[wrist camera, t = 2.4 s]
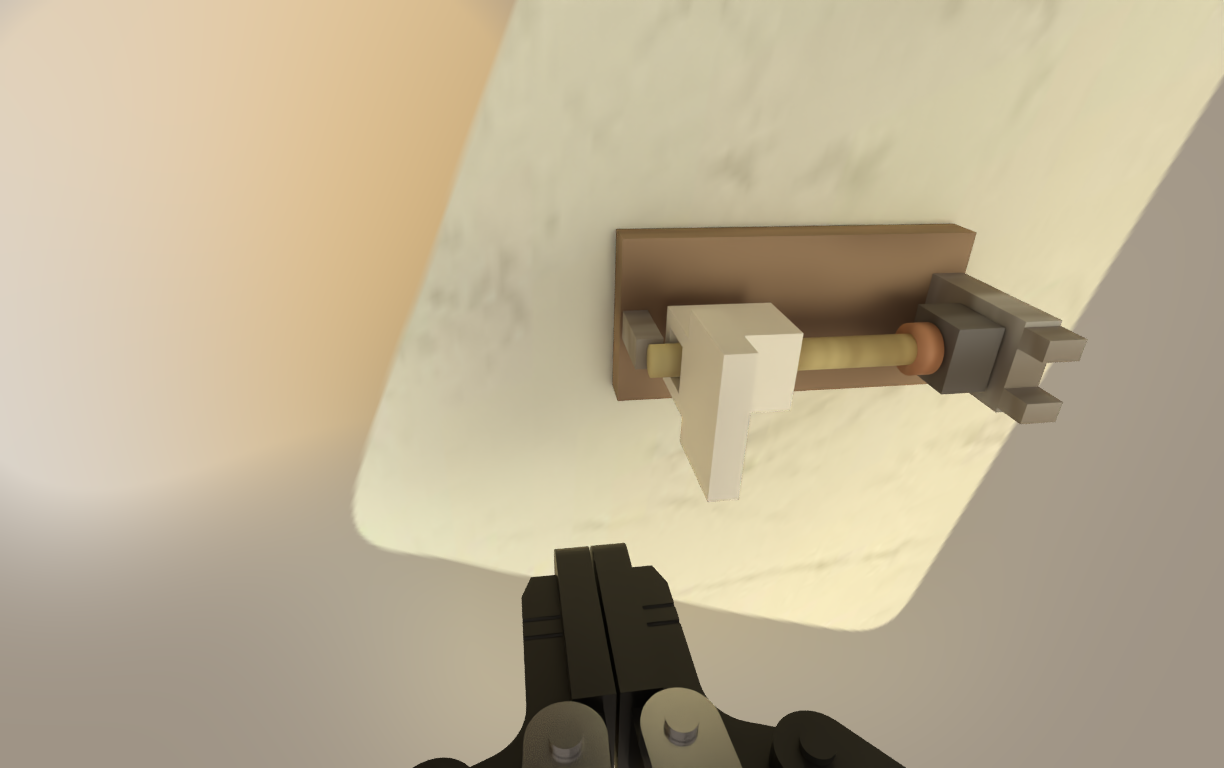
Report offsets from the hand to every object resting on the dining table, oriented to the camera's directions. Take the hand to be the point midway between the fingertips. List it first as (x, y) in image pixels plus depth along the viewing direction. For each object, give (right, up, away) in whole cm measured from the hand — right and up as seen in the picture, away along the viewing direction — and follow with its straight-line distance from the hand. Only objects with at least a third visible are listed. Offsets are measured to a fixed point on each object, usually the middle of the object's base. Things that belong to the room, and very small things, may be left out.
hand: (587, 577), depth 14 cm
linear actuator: (+8, +8, +15) cm, 18 cm away
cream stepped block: (+4, +6, +11) cm, 13 cm away
